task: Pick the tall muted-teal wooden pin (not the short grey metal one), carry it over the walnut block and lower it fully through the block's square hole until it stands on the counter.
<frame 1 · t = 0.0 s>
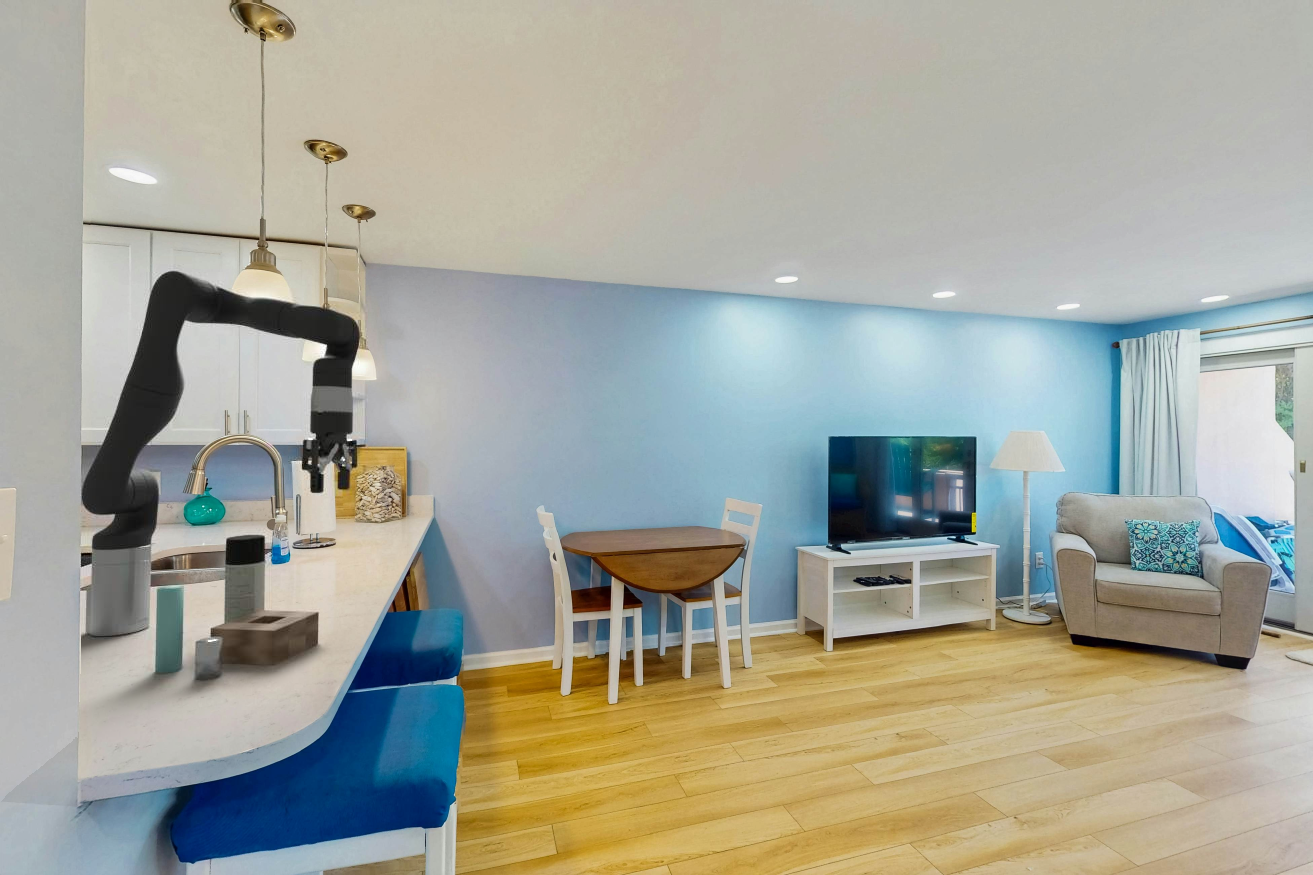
hand: (330, 491, 122), 29 cm above the worktop, fingers open, 8 cm apart
short pin: (208, 676, 101), on the worktop
long pin: (168, 669, 103), on the worktop
socket block: (266, 652, 113), on the worktop
spray can: (244, 637, 121), on the worktop
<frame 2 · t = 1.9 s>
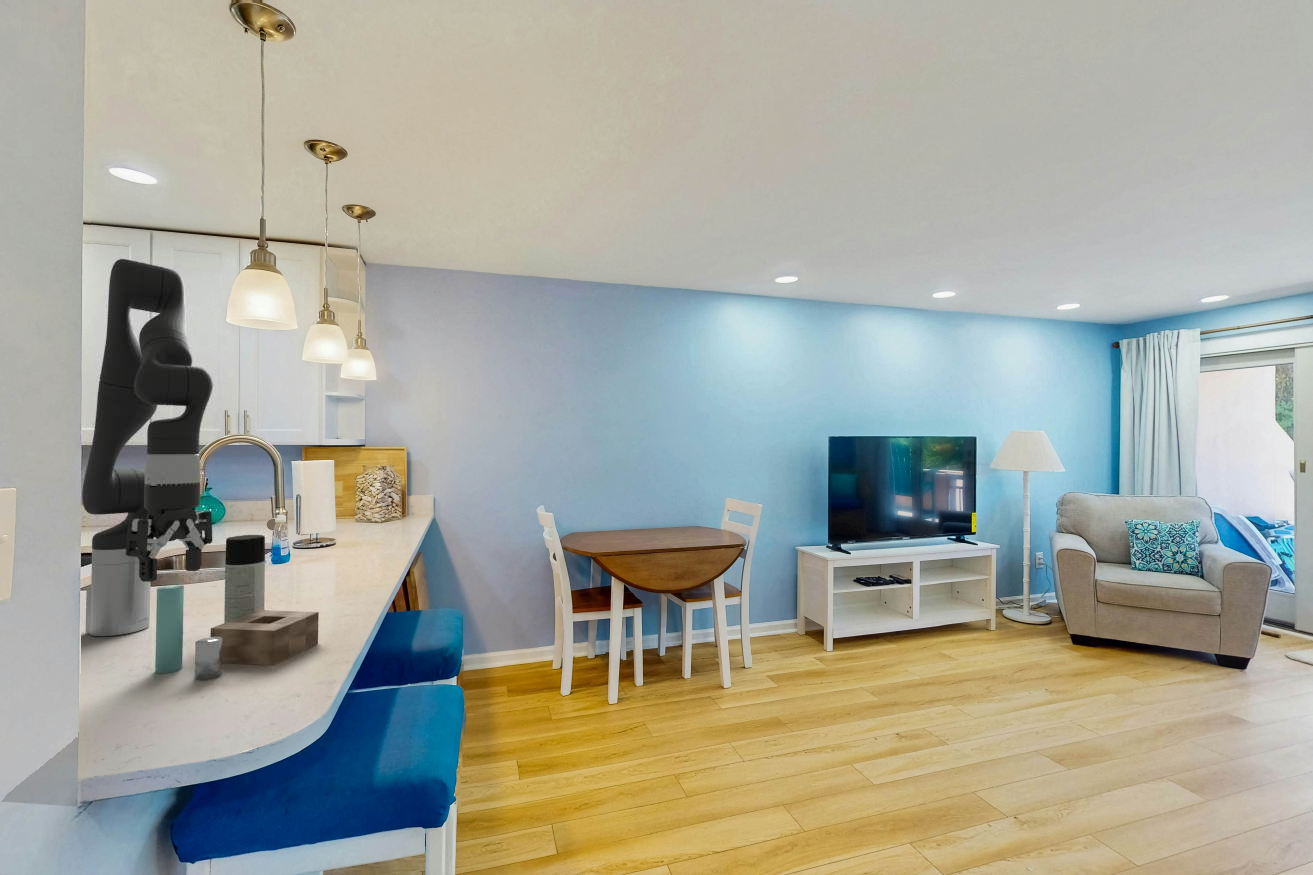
hand: (171, 575, 104), 16 cm above the worktop, fingers open, 8 cm apart
nothing on the worktop moved.
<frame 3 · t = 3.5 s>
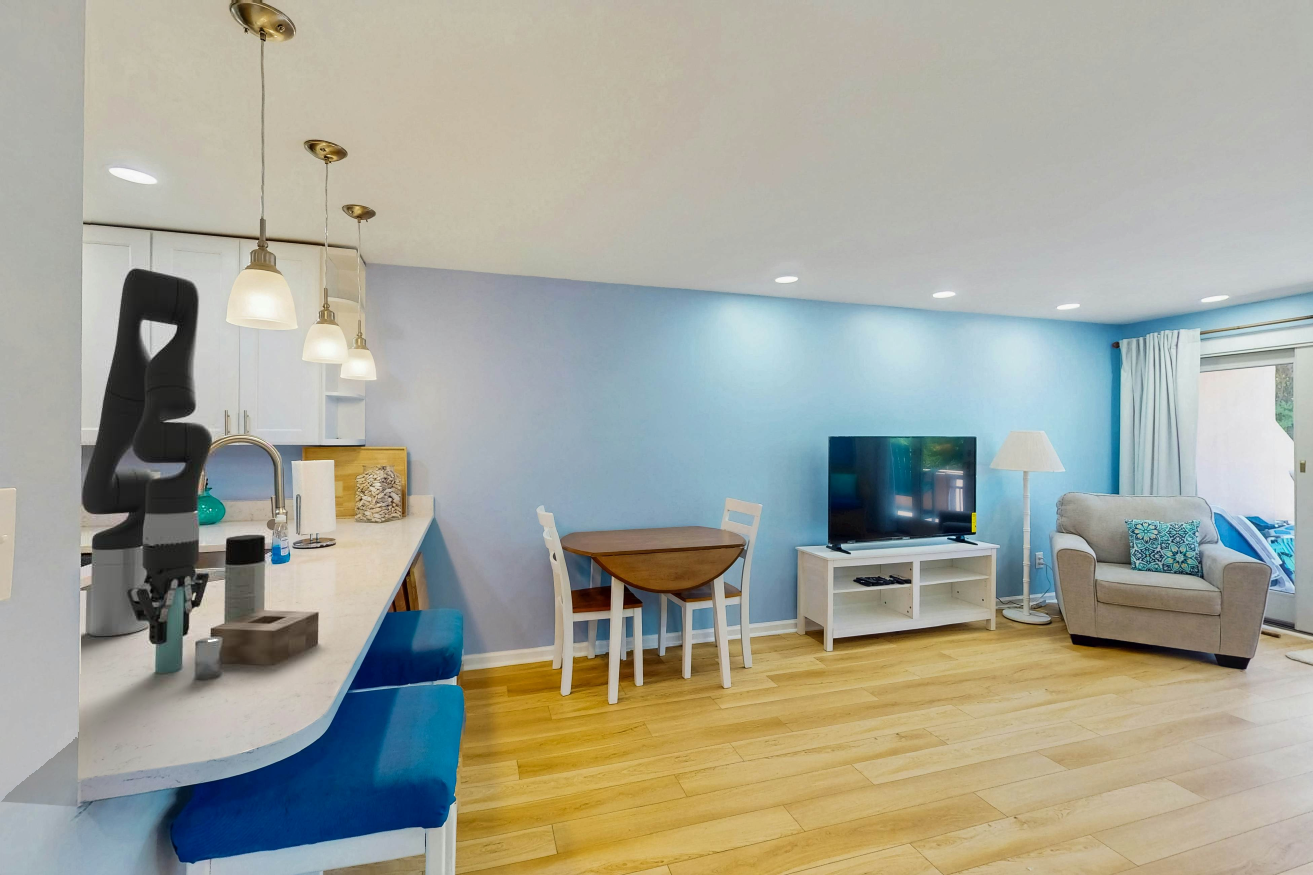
hand: (169, 639, 103), 5 cm above the worktop, fingers closed on long pin, 3 cm apart
long pin: (168, 669, 103), on the worktop, touching gripper
everything else where it was.
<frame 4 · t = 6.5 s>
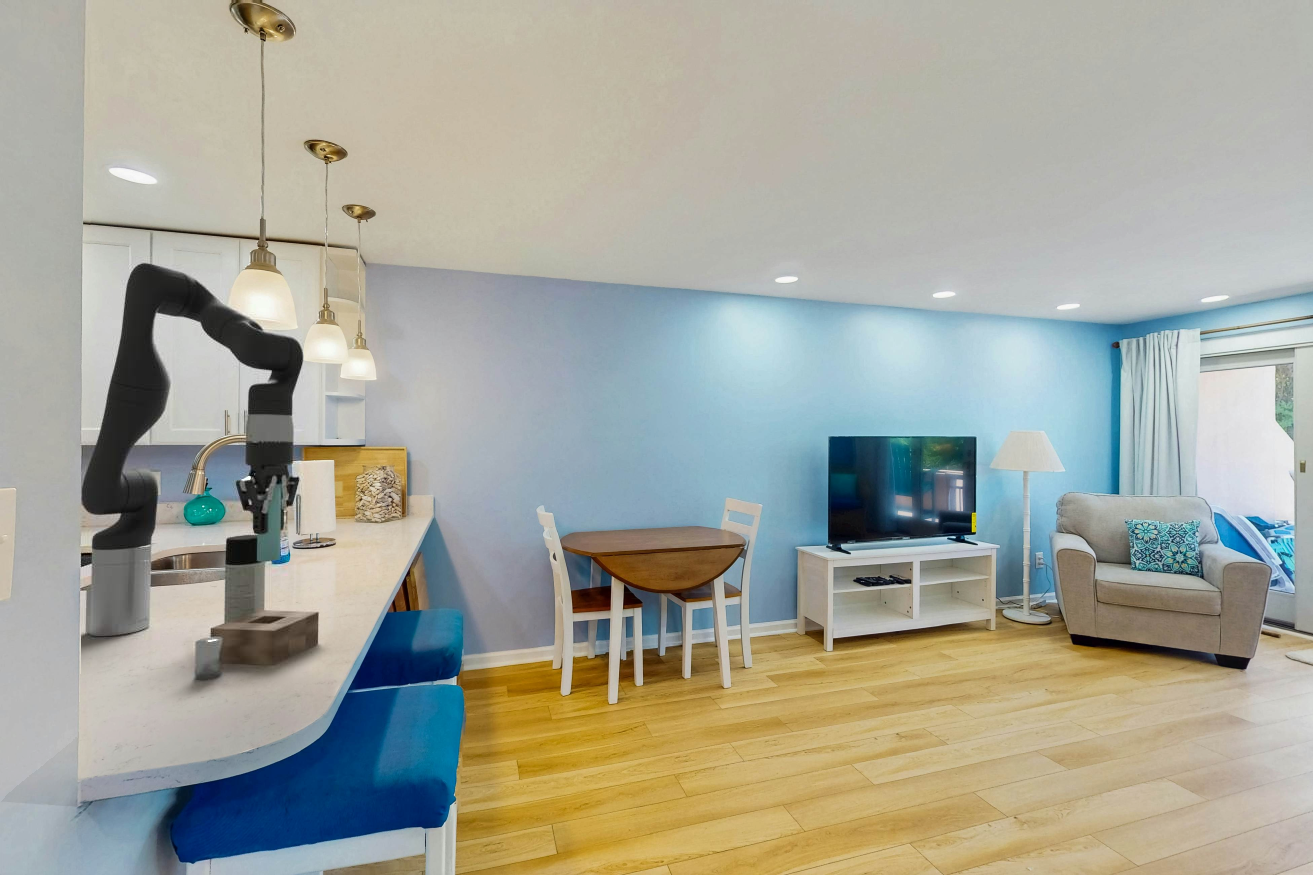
hand: (268, 531, 113), 22 cm above the worktop, fingers closed on long pin, 3 cm apart
long pin: (268, 559, 113), point 17 cm above the worktop, touching gripper
everything else where it was.
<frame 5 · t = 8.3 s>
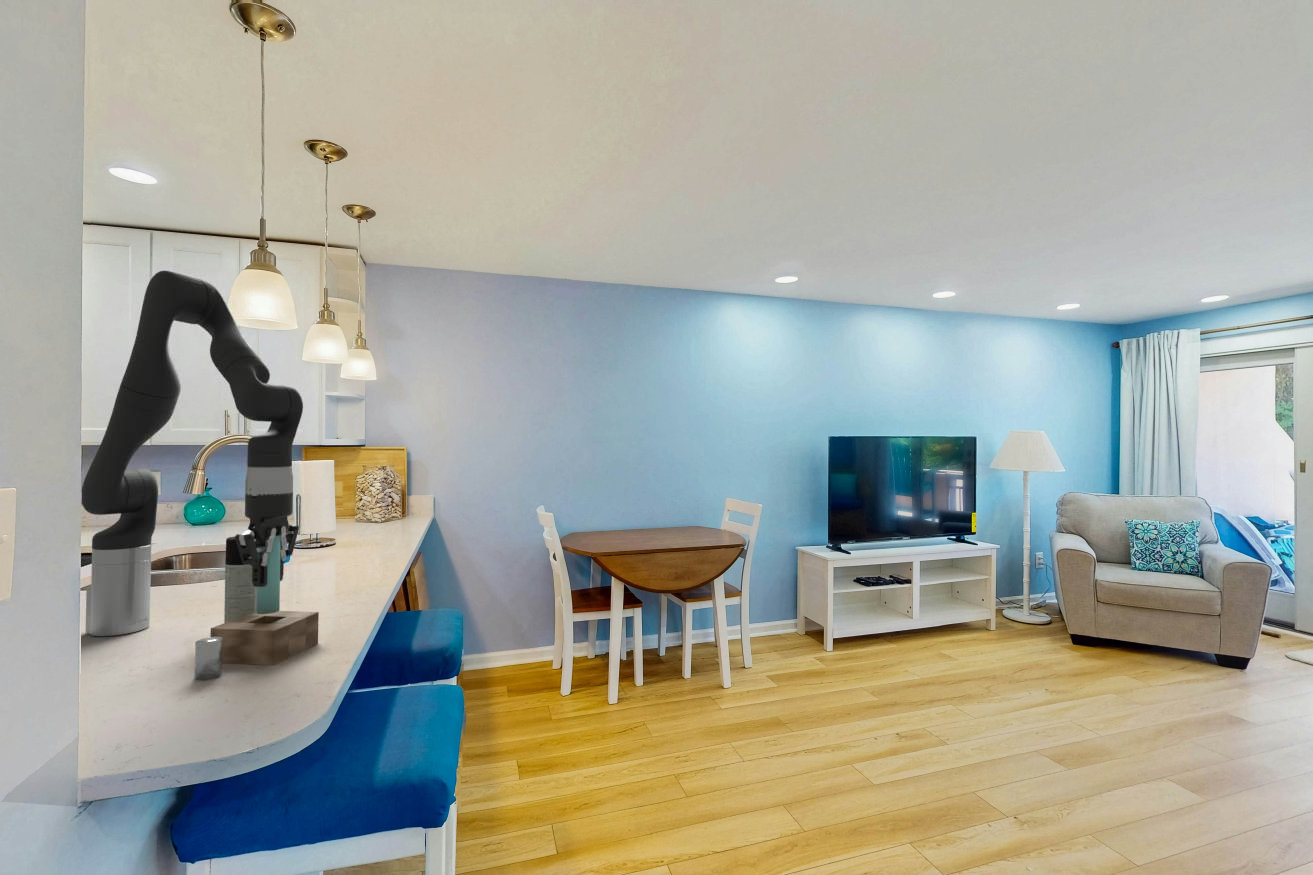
hand: (268, 583, 113), 13 cm above the worktop, fingers closed on long pin, 3 cm apart
long pin: (268, 611, 113), point 8 cm above the worktop, touching gripper
everything else where it was.
when the fingers open (7 cm above the worktop, at t = 9.9 s): long pin drops 2 cm, resting in socket block.
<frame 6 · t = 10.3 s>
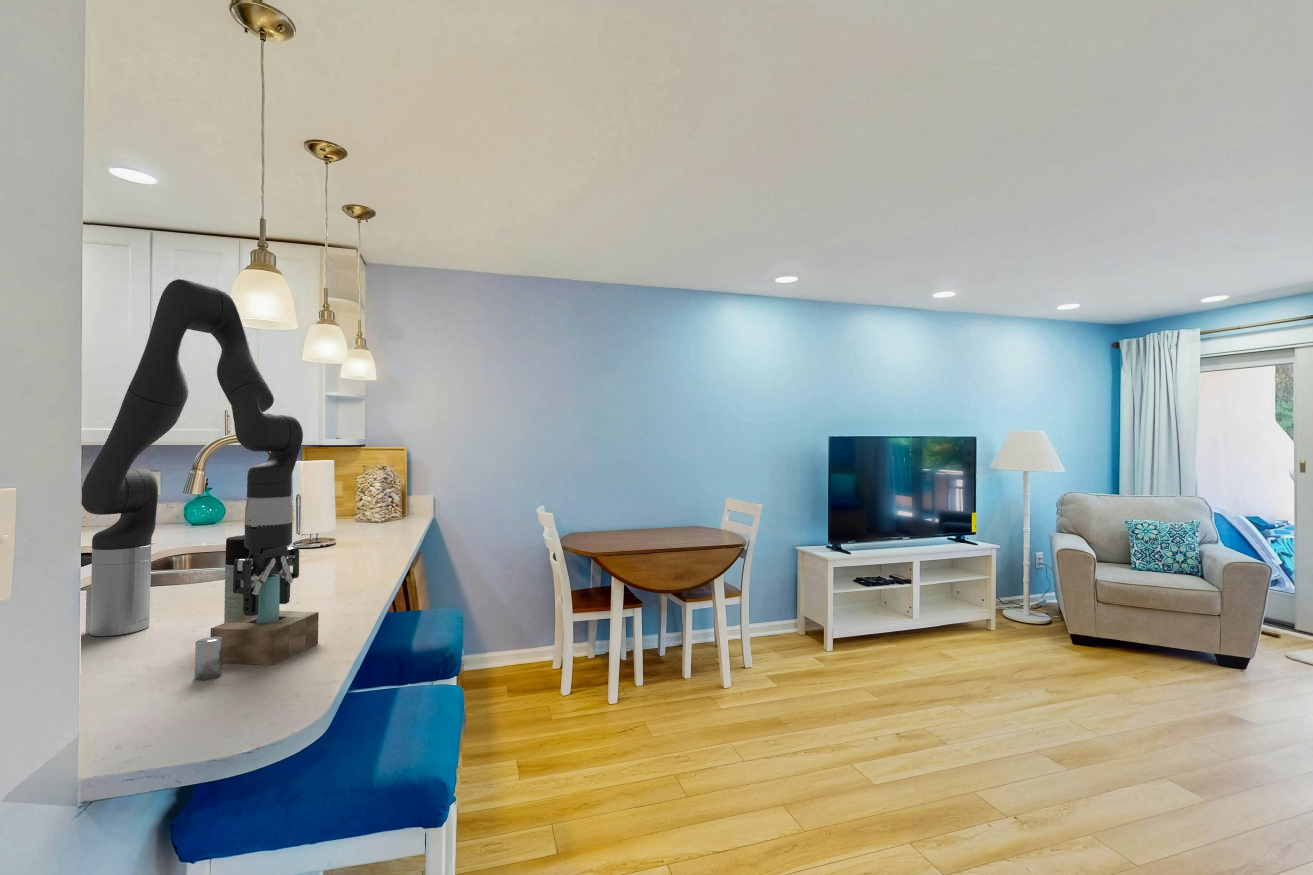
hand: (267, 609, 113), 8 cm above the worktop, fingers open, 7 cm apart
long pin: (267, 652, 113), resting in socket block
everything else where it was.
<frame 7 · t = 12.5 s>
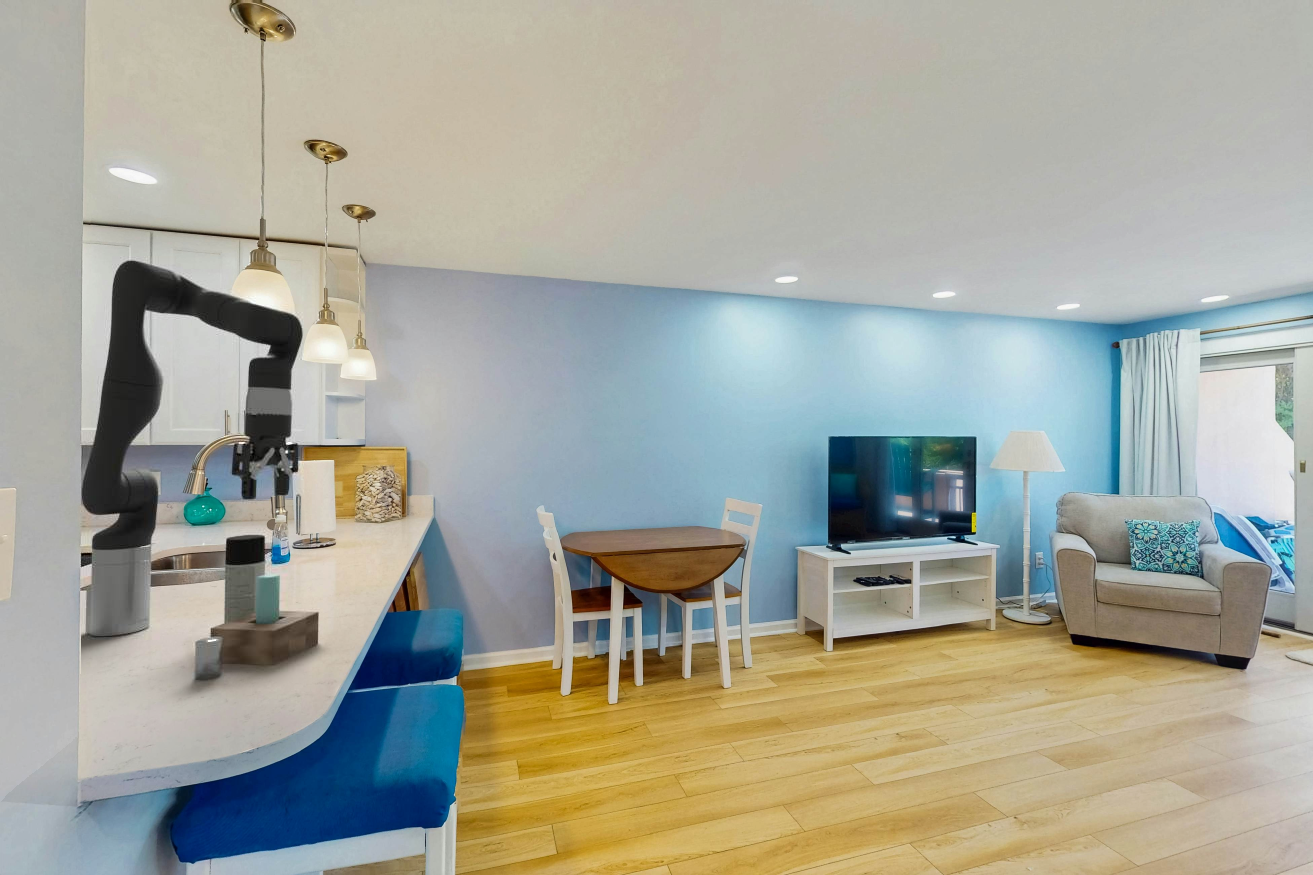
hand: (265, 497, 116), 28 cm above the worktop, fingers open, 8 cm apart
nothing on the worktop moved.
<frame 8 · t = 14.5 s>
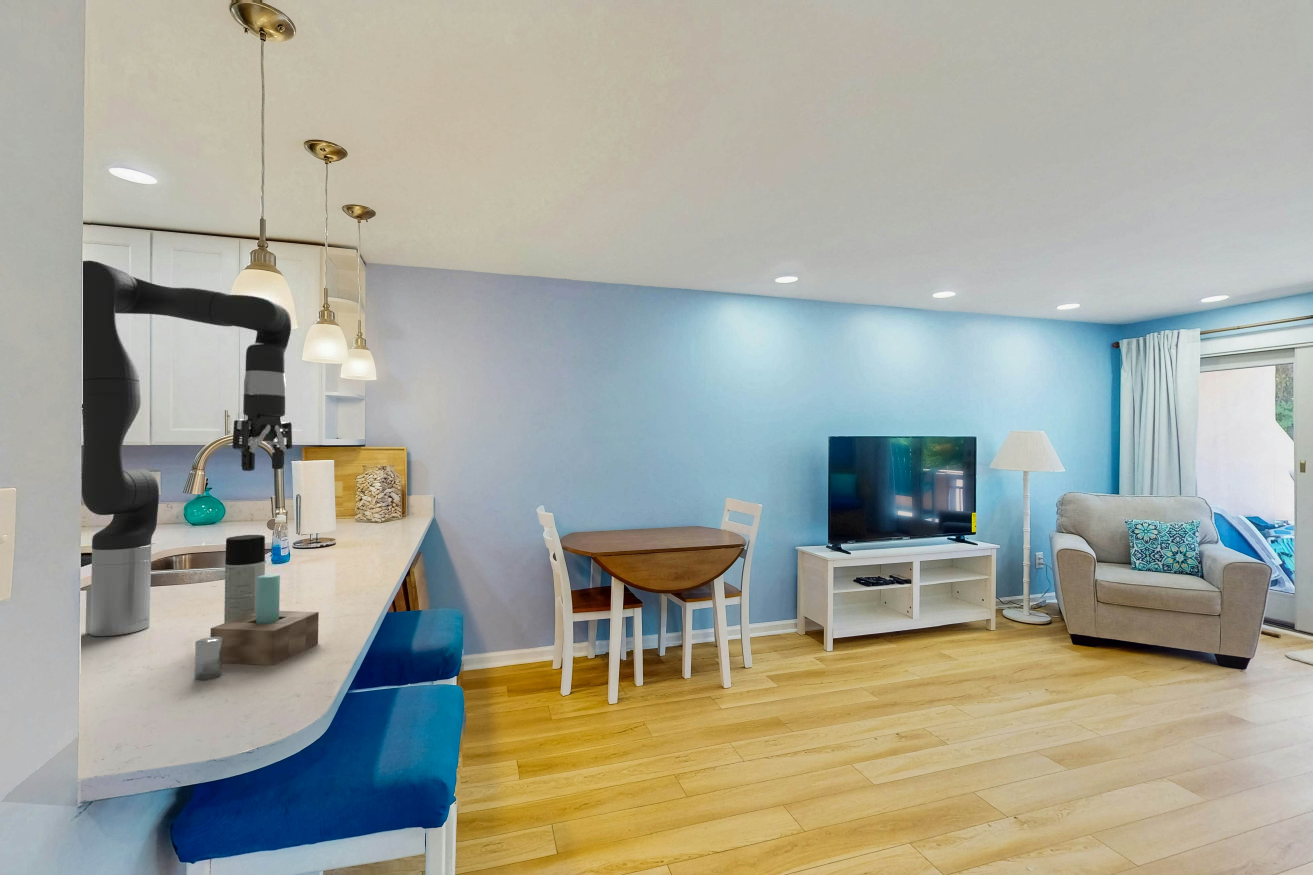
hand: (263, 469, 129), 33 cm above the worktop, fingers open, 8 cm apart
nothing on the worktop moved.
at the end: long pin 0.1 cm off-centre on the socket block, point 0.0 cm above the socket block's base; long pin tilted 0°; the gripper is holding nothing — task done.
